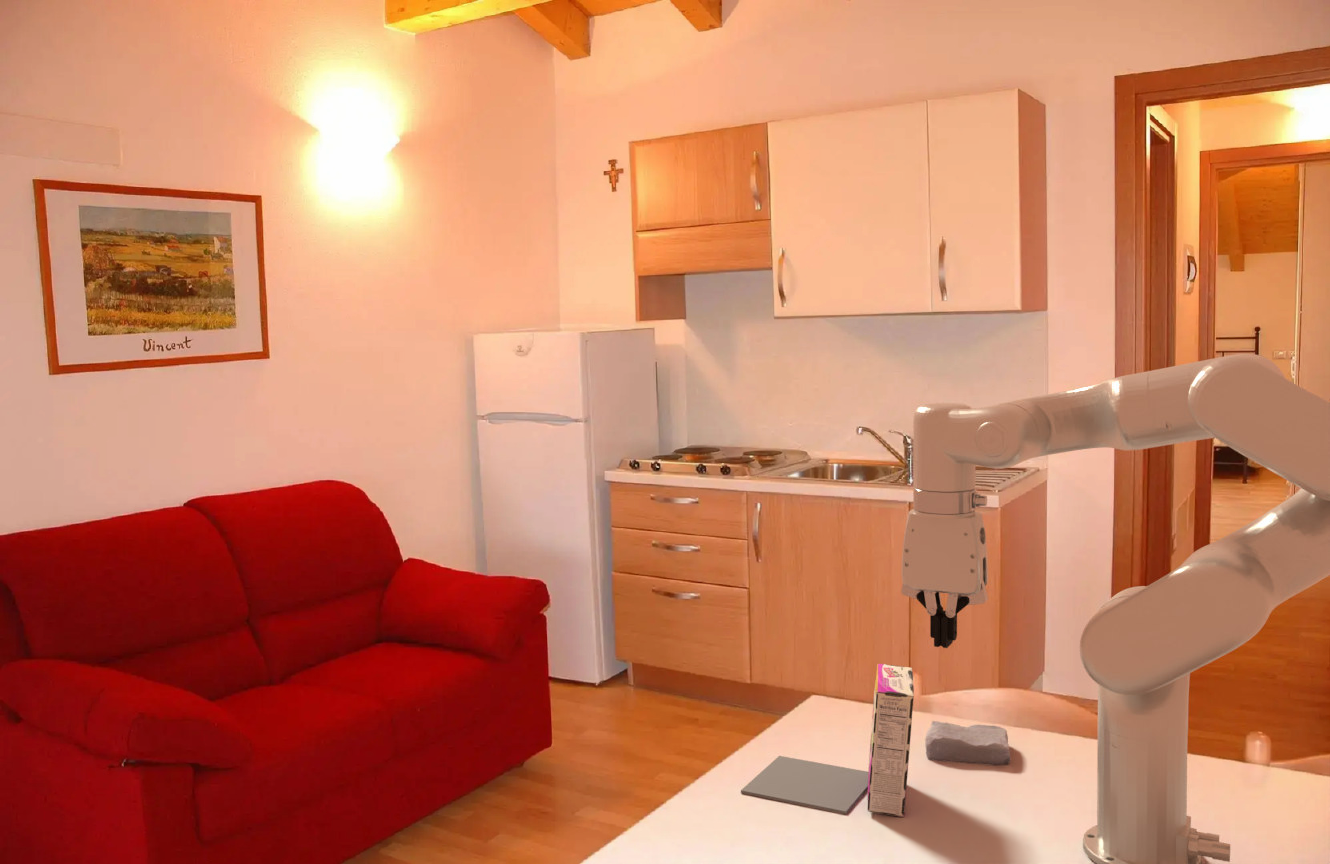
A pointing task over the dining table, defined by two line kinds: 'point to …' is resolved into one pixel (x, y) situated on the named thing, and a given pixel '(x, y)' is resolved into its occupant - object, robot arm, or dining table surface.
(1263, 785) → the dining table surface
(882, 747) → the candy bar box
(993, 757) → the stone block
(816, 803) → the mat
